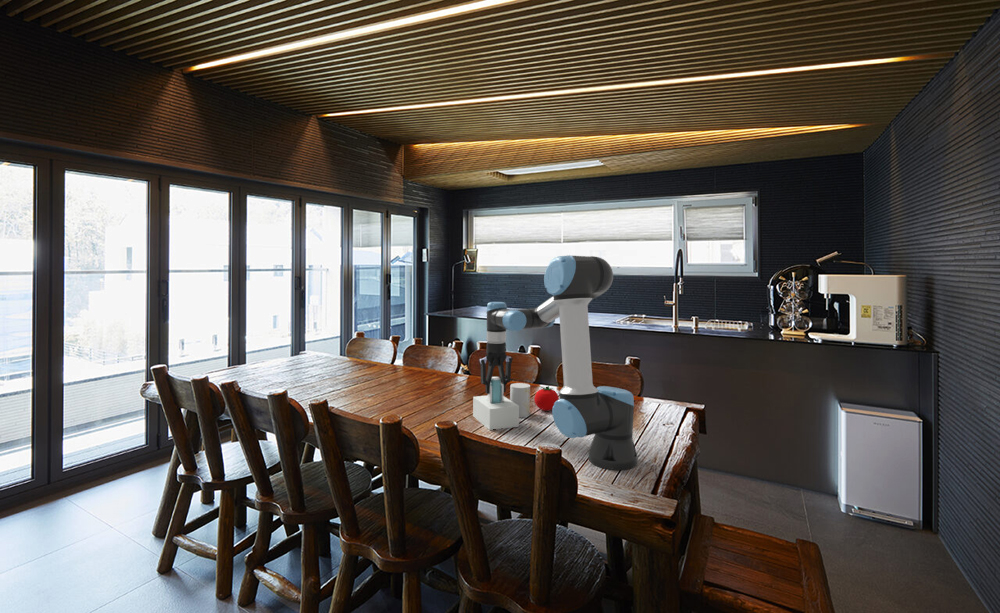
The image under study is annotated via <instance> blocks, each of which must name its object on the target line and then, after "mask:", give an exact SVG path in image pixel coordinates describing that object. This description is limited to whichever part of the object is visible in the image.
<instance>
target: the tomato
mask: <svg viewBox="0 0 1000 613" xmlns="http://www.w3.org/2000/svg"><path fill="white" fill-rule="evenodd" d="M558 399H560V396H559V394H558V393H557V392H556V390H554V387H551V388H550V386H549V385H548V386H545V387H542V386H540V389H538V390H537V391H536V393H535V394H534V404H535V405H536V406H537V408H538V409H539V410H541V411H547V412H548V411H552V409H553V406H554V403H555V402H556V401H557V400H558Z"/></svg>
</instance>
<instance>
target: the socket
mask: <svg viewBox="0 0 1000 613" xmlns="http://www.w3.org/2000/svg"><path fill="white" fill-rule="evenodd" d="M472 416H473V418H474V419H476V420H477V421H478V422H479V423H480V424H482V425H483V426H484V427H485V428H486V429H487V428H488V430H489V431H494V430H493V429H496V430H502V429H501V428H503V429H509V428H515V427H516V428H518V427H520V417H519V405H517V404H515V403H514V402H512V401H511V400H510V398H507V397H506V396H504V400H503V401H501V403H495V404H491V403H490V402H489V401H488V394H487V395H478V396H473V398H472Z"/></svg>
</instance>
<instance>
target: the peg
mask: <svg viewBox="0 0 1000 613" xmlns="http://www.w3.org/2000/svg"><path fill="white" fill-rule="evenodd" d="M501 384H502V383H501V379H500V376H492V379H491V383H490V385H491V386H492V402H491V404H495V403H501Z"/></svg>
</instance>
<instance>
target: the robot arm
mask: <svg viewBox="0 0 1000 613" xmlns="http://www.w3.org/2000/svg"><path fill="white" fill-rule="evenodd" d="M544 271H545V272H544V276H543V282H544V283H543V284H544V288H545V289H546V292H547V293H548V294H550V295H552V296H551V297H550V298H548V299H547V300H545V301H544V302H543V303H541V304H540V305H538V306H537V307H534V308H518V309H511V308H508V306H507V303H506V302H505V301H490V302H488V303H487V306H486V341H487V343H486V354H485V357H483V358H479V359H478V361H479V365H480V383H481V384H482V385H484V386H485V394H487V395H488V401H489V402H490V403H491V402H492V386H491V385H490V383H491V379H492V377H493V374H494V369H495V367H497V368H498V374H499V377H500V379H501V401H503V400H504V397H505V396H504V393H506V388H507V385H508V383H511V379H512V378H511V377H512V376H511V374H512V363H513V360H514V359H513V357H511V356H508V355H507V353H506V351H507V343H506V341H507V330H508V331H510V332H519V331H522V330H528V329H529V330H530V329H531V330H532V329H546V328H550V327H552V326H554V323H555V322H556V319H558V318H559V327H560V328H559V330H560V331H559V332H560V344H561V346H560V347H561V359H562V360H561V361H562V362H561V363H562V374H563V375H562V376H563V377H562V378H563V379H562V380H563V387H562V388H561V389H560V390H559V391H558V392H559V394H558V396H559V399H558V400H557V401H556V402H555V403H554V406H553V409H552V410H551V411H552V417H553V418H552V419H553V422H554V424H555V427H556V428H557V429H558V431H559V433H560V434H562V435H563V436H564V437H567V438H569V439H576V438H584V437H587V436H591V435H594V436H593V439H592V441H591V445H590V448H589V450H588V456H587V457H588V458H587V459H588V461H589V462H590V463H591V464H592V465H595V466H597V467H599V468H602V469H605V470H606V469H607V470H611V471H612V470H614V471H615V470H616V471H625V470H626V471H627V470H630V469H633V468H635V467H637V465H638V453H637V449H636V447H635V443H634V439H633V438H634V437H633V435H634V433H633V431H634V430H633V429H634V413H635V402H634V400H635V399H634V394H633V393H632V392H631V391H629V390H627V389H625V388H623V389H622V388H621V387H620V388H619V387H615V386H606V385H603V386H602V385H600V386H597V387H596V386H594V384H593V383H594V382H593V371H592V370H593V368H592V354H591V338H590V336H591V335H590V326H589V325H590V324H589V309H588V306H589V304H590V302H592V300H594V299H596V298H598V297H600V296H601V295H603V294H604V293H606V292H607V291H608V290H609V289H610V287H611V286H612V283H613V280H614V272H613V269H612V267H611V265H610V264H609V263H608V261H606V260H605V259H604V258H602V257H599V256H593V255H592V256H586V255H585V256H584V255H571V254H570V255H559V256H555V257H554V258H553V259H551V261H549V263H548V265H547V266H546V269H545V270H544ZM487 362H488V366H487V365H486V363H487ZM504 362H505V365H504ZM487 367H488V368H487ZM504 367H505V368H504ZM504 369H505V370H504Z"/></svg>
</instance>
